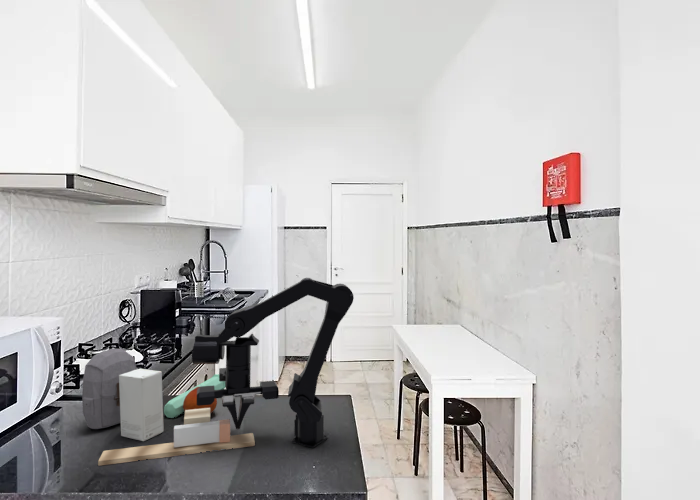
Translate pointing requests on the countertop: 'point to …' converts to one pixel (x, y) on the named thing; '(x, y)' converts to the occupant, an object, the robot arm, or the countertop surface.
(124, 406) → the skincare box
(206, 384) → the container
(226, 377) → the robot arm
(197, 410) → the wooden block
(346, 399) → the countertop surface
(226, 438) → the white and pink block
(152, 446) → the plank
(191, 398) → the fruit
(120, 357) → the soft grey pack
